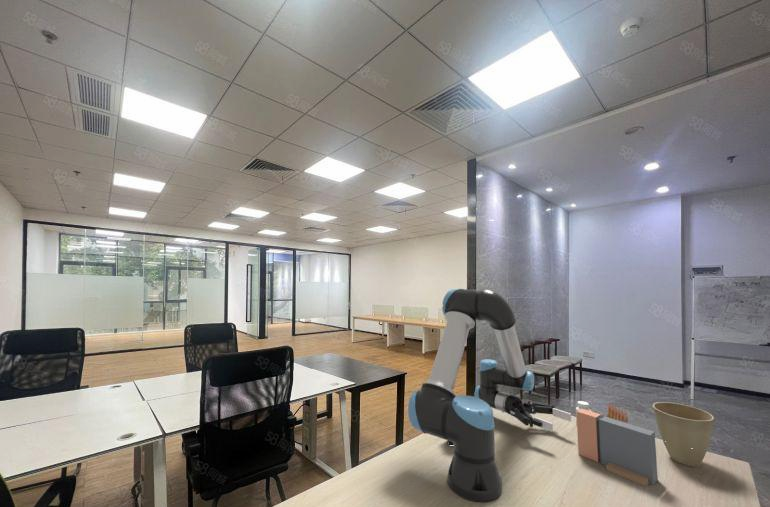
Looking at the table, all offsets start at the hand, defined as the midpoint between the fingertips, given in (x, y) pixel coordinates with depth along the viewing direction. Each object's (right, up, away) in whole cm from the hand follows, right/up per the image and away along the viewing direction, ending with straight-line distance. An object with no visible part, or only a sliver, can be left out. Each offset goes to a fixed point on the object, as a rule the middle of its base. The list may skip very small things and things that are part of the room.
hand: (561, 422), depth 117 cm
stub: (+5, -7, -8) cm, 12 cm away
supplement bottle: (+16, -9, +13) cm, 22 cm away
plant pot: (+35, -7, -11) cm, 37 cm away
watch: (-38, -8, +1) cm, 39 cm away
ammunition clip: (+22, -8, +2) cm, 24 cm away
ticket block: (+11, -7, -17) cm, 21 cm away
